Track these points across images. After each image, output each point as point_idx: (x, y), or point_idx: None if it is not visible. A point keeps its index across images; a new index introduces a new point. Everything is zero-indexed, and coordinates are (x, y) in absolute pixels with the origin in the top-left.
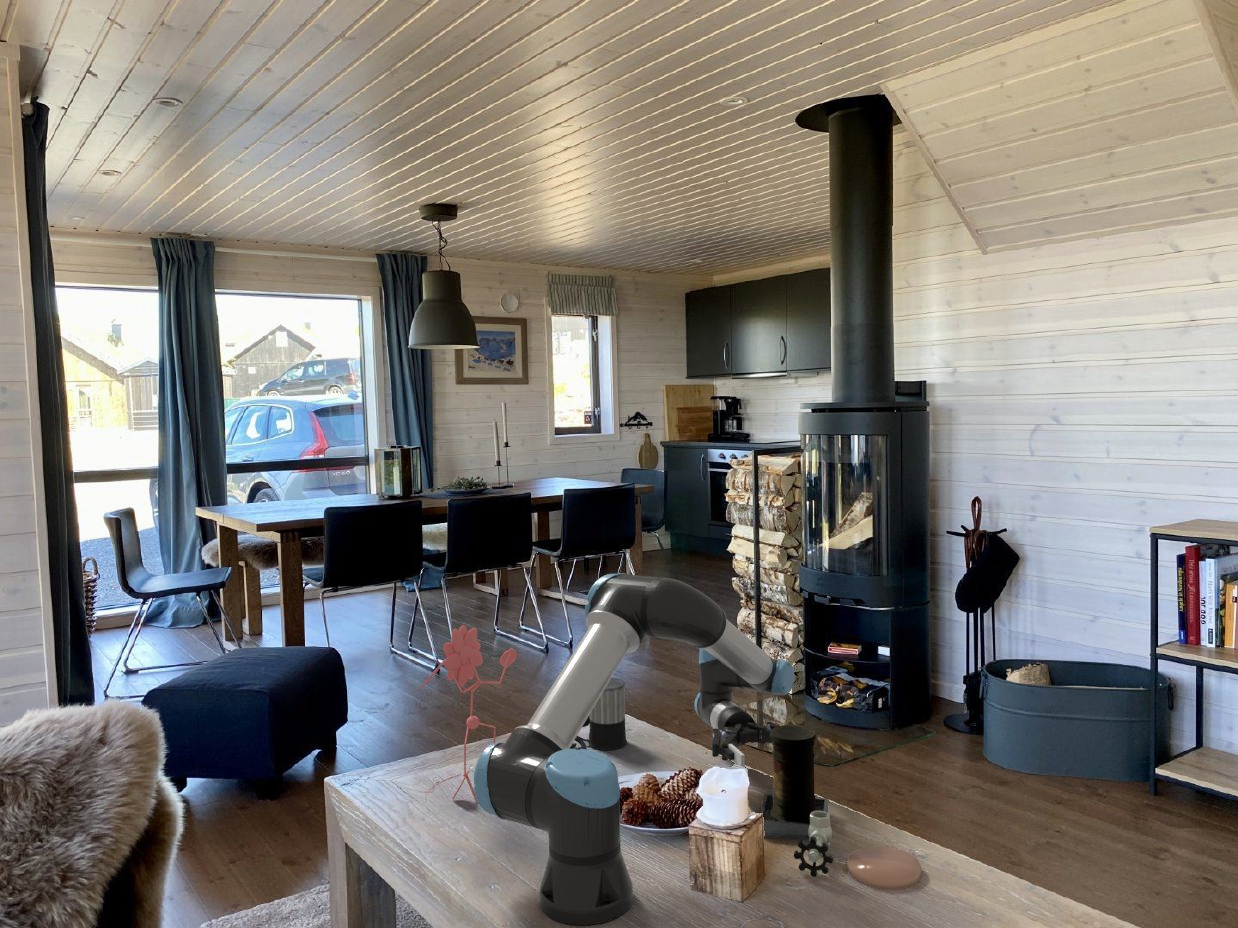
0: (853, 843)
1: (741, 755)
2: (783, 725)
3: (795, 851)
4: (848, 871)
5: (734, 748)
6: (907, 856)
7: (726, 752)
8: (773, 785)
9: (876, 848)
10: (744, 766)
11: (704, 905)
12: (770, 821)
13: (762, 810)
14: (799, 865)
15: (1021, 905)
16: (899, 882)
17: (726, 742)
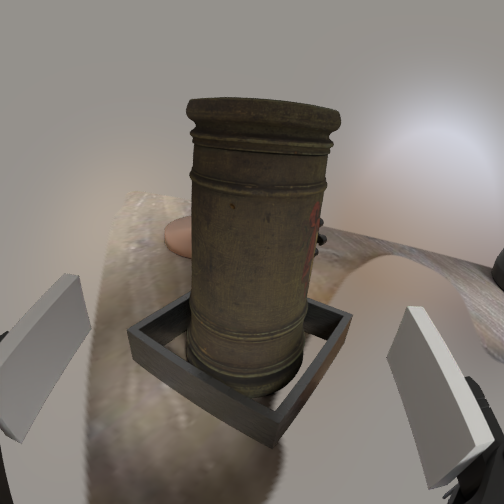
0: (188, 280)
1: (420, 307)
2: (264, 99)
3: (323, 237)
4: None
5: (457, 377)
6: (172, 228)
7: (484, 407)
8: (307, 284)
9: (189, 243)
10: (390, 350)
11: (429, 259)
12: (327, 305)
13: (329, 344)
14: (317, 249)
15: (150, 199)
16: None
17: (502, 487)
